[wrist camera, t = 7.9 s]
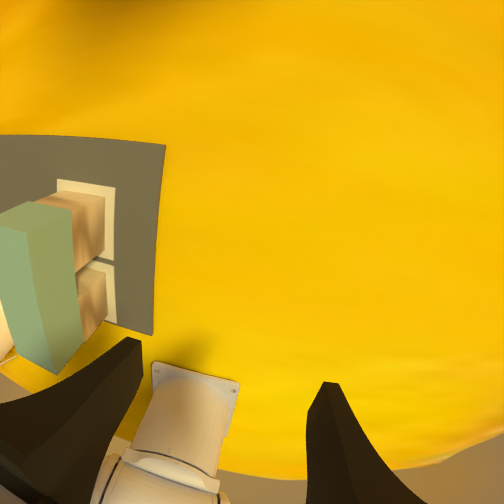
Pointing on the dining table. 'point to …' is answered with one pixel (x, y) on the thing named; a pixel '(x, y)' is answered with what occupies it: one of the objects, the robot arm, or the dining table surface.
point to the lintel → (40, 284)
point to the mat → (116, 206)
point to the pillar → (82, 222)
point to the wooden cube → (91, 299)
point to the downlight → (4, 337)
